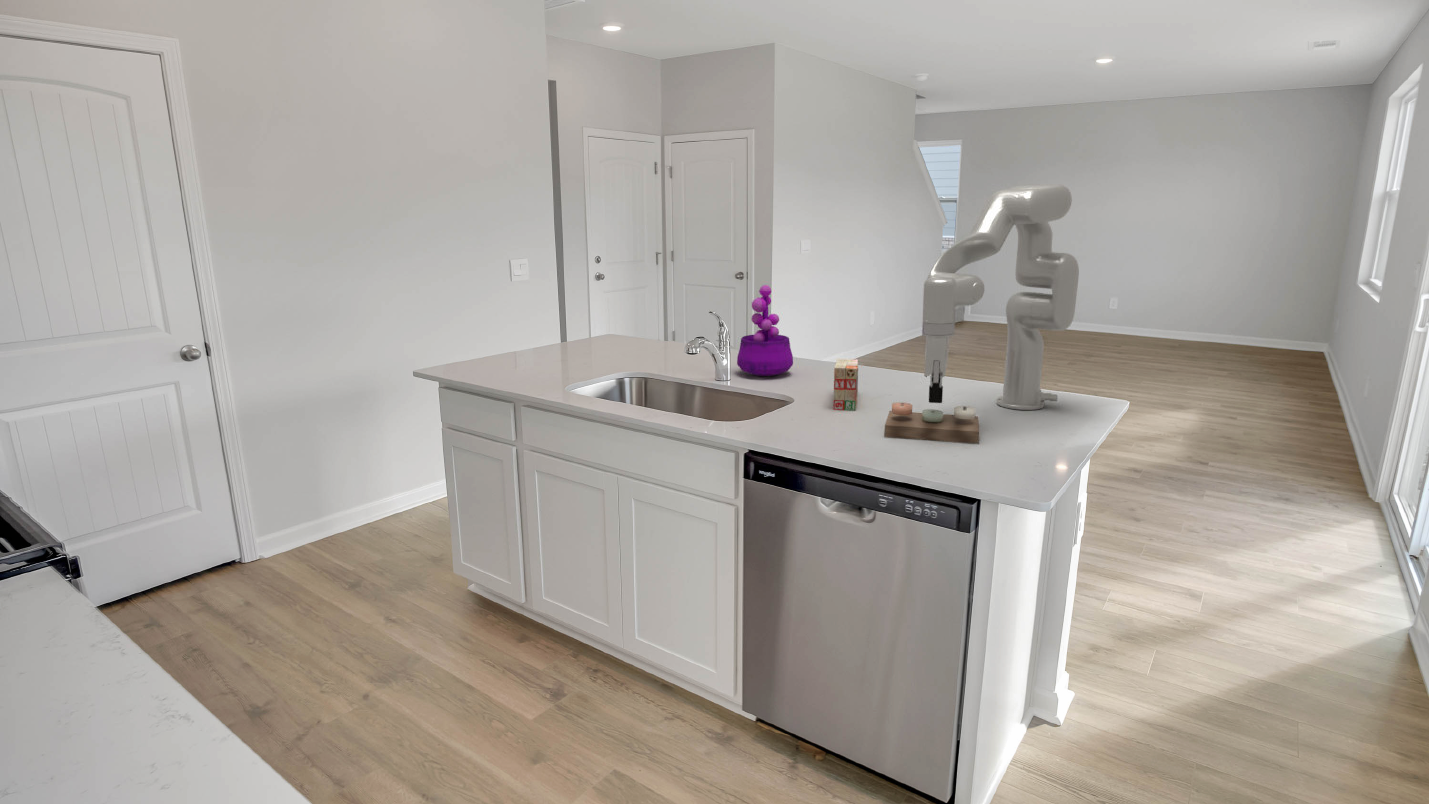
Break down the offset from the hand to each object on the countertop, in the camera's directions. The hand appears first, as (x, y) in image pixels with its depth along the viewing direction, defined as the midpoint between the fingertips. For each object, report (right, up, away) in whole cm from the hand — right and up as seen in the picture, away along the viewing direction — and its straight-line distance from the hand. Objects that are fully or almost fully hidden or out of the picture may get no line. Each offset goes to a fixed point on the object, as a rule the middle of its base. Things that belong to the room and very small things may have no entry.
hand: (935, 401), depth 193 cm
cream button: (+7, -4, -2) cm, 8 cm away
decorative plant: (-38, +9, +69) cm, 79 cm away
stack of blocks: (-17, 0, +33) cm, 37 cm away
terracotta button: (-8, -3, +2) cm, 9 cm away
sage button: (-1, -4, +1) cm, 5 cm away
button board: (-1, -8, +1) cm, 8 cm away
